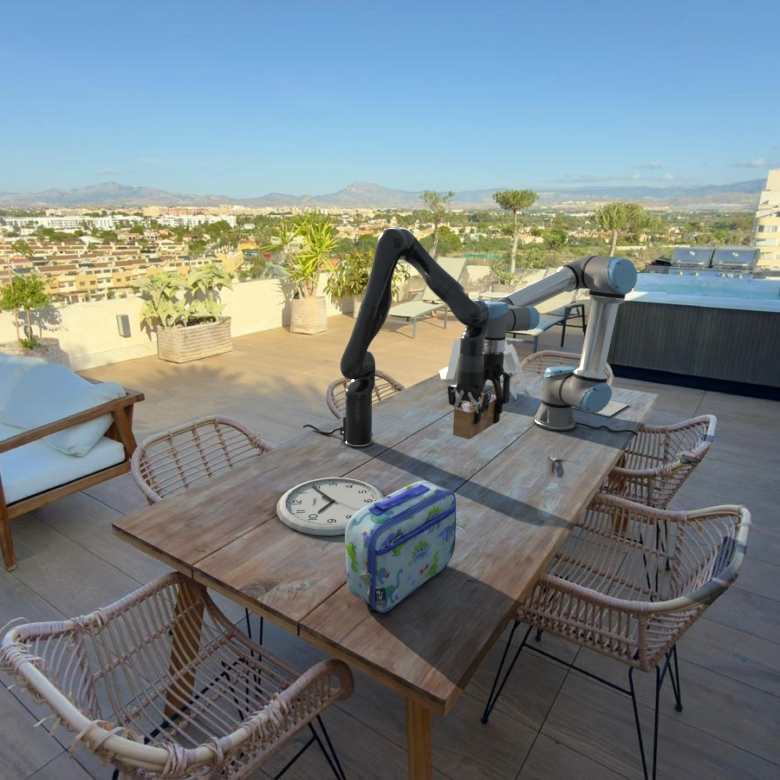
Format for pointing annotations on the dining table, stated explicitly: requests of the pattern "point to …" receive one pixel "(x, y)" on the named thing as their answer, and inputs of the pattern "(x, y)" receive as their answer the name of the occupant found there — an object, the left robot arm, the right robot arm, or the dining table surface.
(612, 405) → the invitation card
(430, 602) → the dining table surface
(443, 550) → the lunch box
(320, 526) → the wall clock
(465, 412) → the box
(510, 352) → the white plastic object
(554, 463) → the fork
